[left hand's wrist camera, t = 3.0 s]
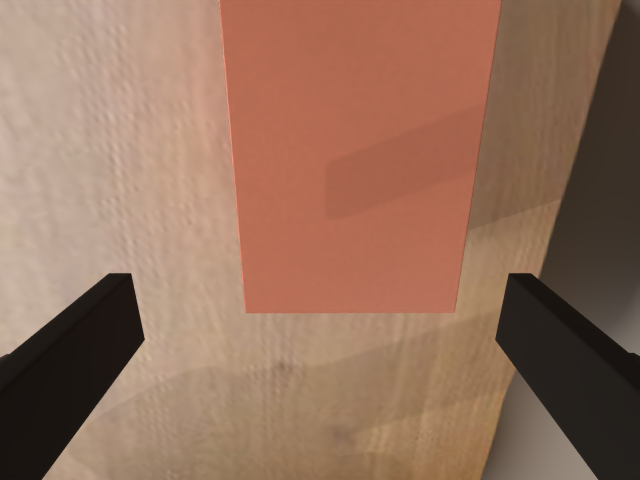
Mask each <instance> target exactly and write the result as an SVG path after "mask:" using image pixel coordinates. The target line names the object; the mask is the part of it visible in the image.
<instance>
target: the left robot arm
mask: <svg viewBox="0 0 640 480" xmlns="http://www.w3.org/2000/svg"><path fill="white" fill-rule="evenodd" d="M144 340H145V338H144V333H143V328H142V324H141V319H140V314H139V309H138V304H137V299H136V295H135V290H134V285H133V280H132V275H131V273H109V274H108V275H106V276H105V277H104V278H103V279H101V280H100V281H99V282H98V283H97V284H95V285H94V286H93V287H92V288H90V289H89V290H88V291H87V292H86V293H84V294H83V295H82V296H81V297H79V298H78V299H77V300H76V301H74V302H73V303H72V304H71V305H70V306H68V307H67V308H66V309H65V310H63V311H62V312H61V313H60V314H58V315H57V316H56V317H55V318H54V319H52V320H51V321H50V322H49V323H47V324H46V325H45V326H44V327H42V328H41V329H40V330H39V331H38V332H36V333H35V334H34V335H33V336H31V337H30V338H29V339H28V340H26V341H25V342H24V343H23V344H22V345H20V346H19V347H18V348H17V349H15V350H14V351H13V352H12V353H10V354H6V355H4V356H2V357H1V358H0V480H42V479H43V477H44V476H45V475H46V473H47V472H48V470H49V469H50V468H51V466H52V465H53V464H54V462H55V461H56V460H57V458H58V457H59V456H60V454H61V453H62V451H63V450H64V449H65V447H66V446H67V445H68V443H69V442H70V441H71V439H72V438H73V437H74V435H75V434H76V432H77V431H78V430H79V428H80V427H81V426H82V424H83V423H84V422H85V420H86V419H87V418H88V416H89V415H90V413H91V412H92V411H93V409H94V408H95V407H96V405H97V404H98V403H99V401H100V400H101V398H102V397H103V396H104V394H105V393H106V392H107V390H108V389H109V388H110V386H111V385H112V384H113V382H114V381H115V379H116V378H117V377H118V375H119V374H120V373H121V371H122V370H123V369H124V367H125V366H126V365H127V363H128V362H129V360H130V359H131V358H132V356H133V355H134V354H135V352H136V351H137V350H138V348H139V347H140V346H141V344H142V343H143V341H144ZM495 340H496V341H497V343H498V344H499V346H500V347H501V348H502V350H503V351H504V352H505V354H506V355H507V356H508V358H509V359H510V360H511V362H512V363H513V365H514V366H515V367H516V369H517V370H518V371H519V373H520V374H521V375H522V377H523V378H524V379H525V381H526V382H527V384H528V385H529V386H530V387H531V389H532V390H533V392H534V393H535V394H536V396H537V397H538V398H539V400H540V401H541V403H542V404H543V405H544V407H545V408H546V409H547V411H548V412H549V413H550V415H551V416H552V418H553V419H554V420H555V422H556V423H557V424H558V426H559V427H560V428H561V430H562V431H563V432H564V434H565V435H566V436H567V438H568V439H569V441H570V442H571V443H572V445H573V446H574V447H575V449H576V450H577V451H578V453H579V454H580V455H581V457H582V458H583V460H584V461H585V462H586V464H587V465H588V466H589V468H590V469H591V470H592V472H593V473H594V474H595V476H596V477H597V479H598V480H640V356H639V355H637V354H635V353H628V352H627V351H626V350H625V349H623V348H622V347H621V346H620V345H618V344H617V343H616V342H615V341H614V340H612V339H611V338H610V337H609V336H607V335H606V334H605V333H604V332H602V331H601V330H600V329H599V328H597V327H596V326H595V325H594V324H593V323H591V322H590V321H589V320H588V319H586V318H585V317H584V316H583V315H581V314H580V313H579V312H578V311H577V310H575V309H574V308H573V307H572V306H570V305H569V304H568V303H567V302H566V301H564V300H563V299H562V298H561V297H559V296H558V295H557V294H556V293H554V292H553V291H552V290H551V289H550V288H548V287H547V286H546V285H545V284H543V283H542V282H541V281H540V280H538V279H537V278H536V277H535V276H534V275H532V274H531V273H509V275H508V280H507V285H506V290H505V295H504V299H503V304H502V309H501V314H500V319H499V324H498V328H497V333H496V338H495Z"/></svg>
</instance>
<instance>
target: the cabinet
mask: <svg viewBox="0 0 640 480" xmlns="http://www.w3.org/2000/svg"><path fill="white" fill-rule="evenodd" d="M501 4H502V0H219V8H220V20H221V32H222V44H223V55H224V67H225V79H226V91H227V103H228V115H229V127H230V139H231V150H232V162H233V174H234V186H235V198H236V210H237V222H238V233H239V245H240V257H241V269H242V281H243V293H244V305H245V313H454V312H455V307H456V300H457V293H458V287H459V280H460V274H461V267H462V261H463V254H464V247H465V241H466V234H467V228H468V221H469V215H470V208H471V201H472V195H473V188H474V182H475V175H476V169H477V162H478V155H479V149H480V142H481V136H482V129H483V123H484V116H485V109H486V103H487V96H488V90H489V83H490V77H491V70H492V63H493V57H494V50H495V44H496V37H497V31H498V24H499V17H500V11H501Z"/></svg>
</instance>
